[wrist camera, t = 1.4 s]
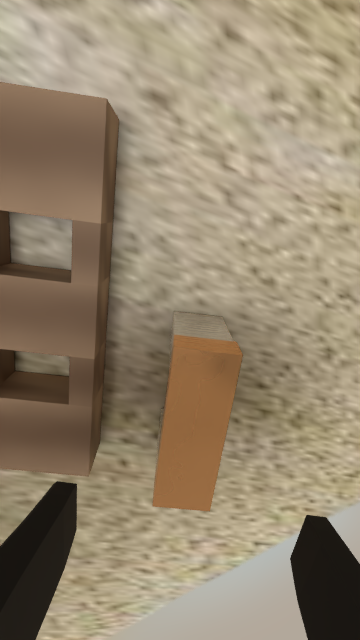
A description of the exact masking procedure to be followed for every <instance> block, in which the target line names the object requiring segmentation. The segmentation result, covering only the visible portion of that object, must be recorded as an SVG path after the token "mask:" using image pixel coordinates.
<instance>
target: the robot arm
mask: <svg viewBox="0 0 360 640" xmlns="http://www.w3.org/2000/svg"><path fill="white" fill-rule="evenodd" d="M76 520H77V484H73V483H66V482H59V481H57V482H56V483H54V484H53V485H52V487H51V488H50V489H49V490H48V492H47V493H46V494H45V495H44V497H43V498H42V499H41V500H40V502H39V503H38V504H37V505H36V506H35V508H34V509H33V510H32V511H31V512H30V513H29V515H28V516H27V517H26V518H25V519H24V520H23V522H22V523H21V524H20V525H19V526H18V527H17V528H16V529H15V531H14V532H13V533H12V534H11V535H10V536H9V537H8V538H7V539H6V540H5V542H4V543H3V544H2V545H1V546H0V640H36V637H37V635H38V632H39V630H40V627H41V625H42V622H43V620H44V618H45V615H46V613H47V610H48V608H49V605H50V603H51V601H52V598H53V596H54V593H55V591H56V588H57V586H58V583H59V581H60V578H61V576H62V573H63V571H64V568H65V565H66V562H67V559H68V556H69V552H70V549H71V546H72V543H73V539H74V536H75V533H76ZM290 560H291V566H292V572H293V578H294V584H295V590H296V595H297V600H298V604H299V608H300V612H301V616H302V619H303V623H304V627H305V630H306V634H307V638H308V640H360V564H359V563H358V561H357V560H356V558H355V557H354V555H353V554H352V553H351V551H350V550H349V548H348V547H347V546H346V544H345V543H344V541H343V540H342V539H341V537H340V536H339V535H338V533H337V532H336V530H335V529H334V527H333V526H332V525H331V523H330V522H329V521H328V519H327V518H326V517H319V516H312V515H306V518H305V521H304V523H303V526H302V529H301V531H300V534H299V537H298V539H297V542H296V545H295V547H294V550H293V552H292V555H291V558H290Z"/></svg>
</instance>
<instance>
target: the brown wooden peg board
mask: <svg viewBox="0 0 360 640" xmlns="http://www.w3.org/2000/svg"><path fill="white" fill-rule="evenodd" d="M118 129H119V119H118V117H117V115H116V114H115V112H114V110H113V109H112V107H111V105H110V103H109V102H108V100H107V99H106V98H99V97H93V96H86V95H80V94H73V93H67V92H61V91H54V90H48V89H41V88H35V87H28V86H22V85H16V84H9V83H3V82H0V468H2V469H13V470H24V471H35V472H46V473H57V474H68V475H79V476H89V474H90V471H91V468H92V465H93V462H94V459H95V456H96V453H97V450H98V447H99V444H100V432H101V416H102V399H103V382H104V365H105V348H106V331H107V315H108V298H109V281H110V264H111V247H112V230H113V214H114V197H115V180H116V163H117V146H118ZM9 211H10V212H18V213H25V214H33V215H40V216H48V217H55V218H62V219H70V220H73V222H72V271H70V270H62V269H54V268H46V267H38V266H30V265H22V264H14V263H11V260H10V236H9ZM14 350H15V351H24V352H33V353H42V354H51V355H60V356H70V370H69V377H66V376H57V375H48V374H38V373H29V372H20V371H15V357H14Z"/></svg>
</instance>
